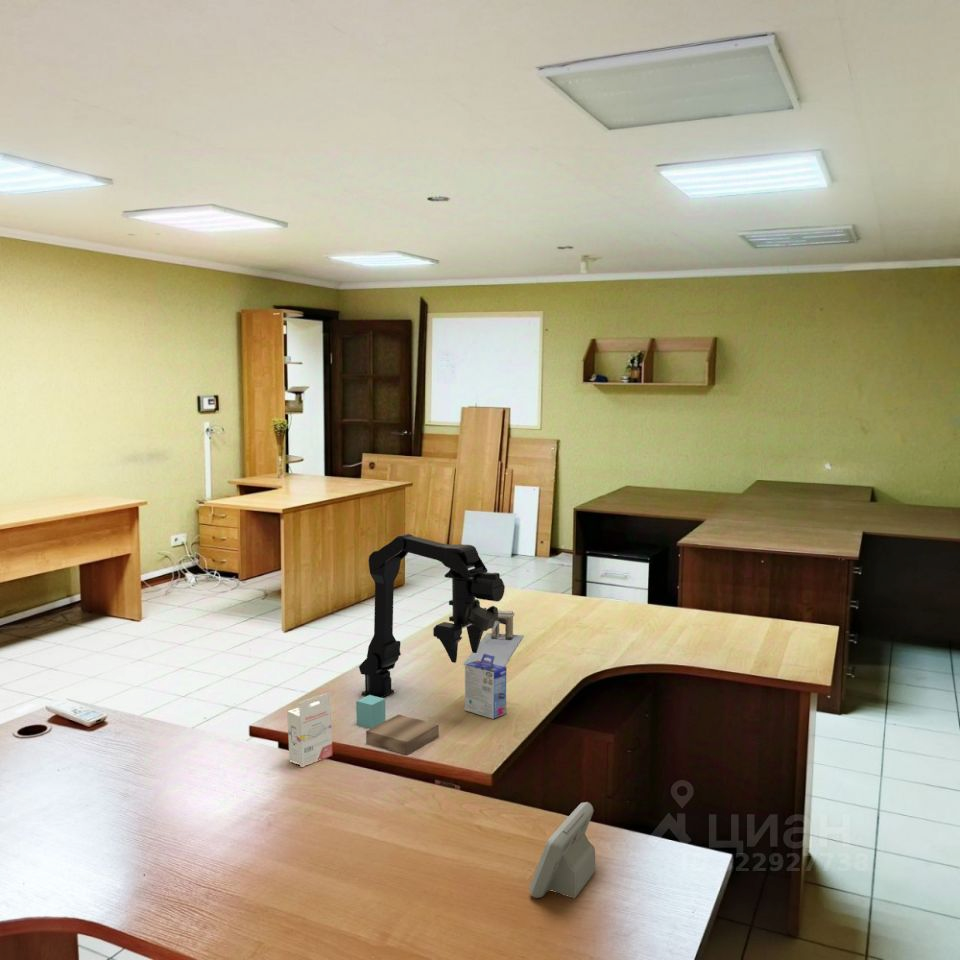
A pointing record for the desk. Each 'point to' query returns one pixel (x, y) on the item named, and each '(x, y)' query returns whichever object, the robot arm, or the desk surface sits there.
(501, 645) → the grey sheet with arch
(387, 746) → the walnut plinth
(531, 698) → the desk surface
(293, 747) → the ink cartridge box
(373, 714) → the teal block
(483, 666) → the ink cartridge box
